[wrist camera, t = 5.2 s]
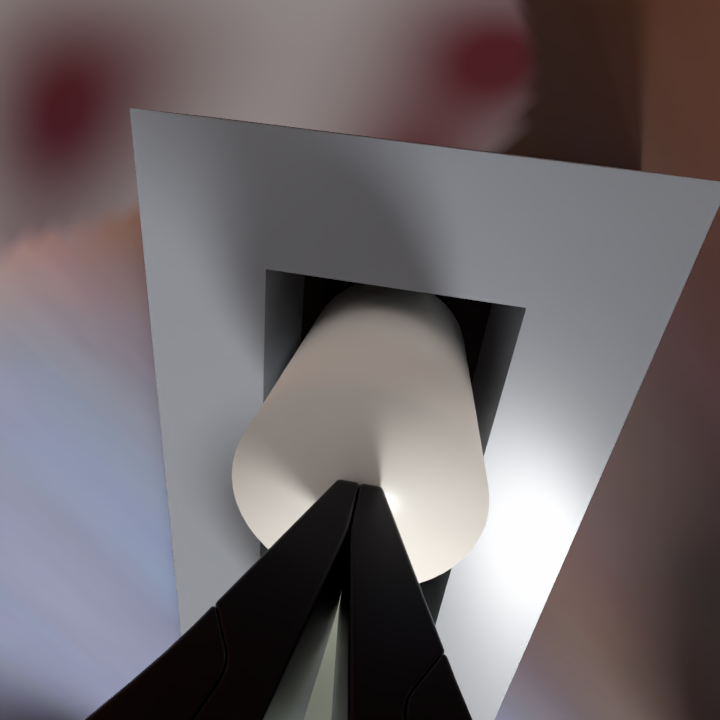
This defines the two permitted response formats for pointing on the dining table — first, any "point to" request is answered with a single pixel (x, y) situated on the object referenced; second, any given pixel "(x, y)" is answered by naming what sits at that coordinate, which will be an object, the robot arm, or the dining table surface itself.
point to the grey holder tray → (421, 274)
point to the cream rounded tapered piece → (373, 426)
